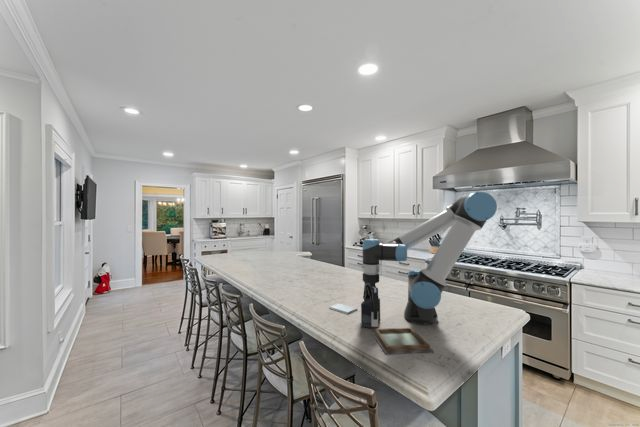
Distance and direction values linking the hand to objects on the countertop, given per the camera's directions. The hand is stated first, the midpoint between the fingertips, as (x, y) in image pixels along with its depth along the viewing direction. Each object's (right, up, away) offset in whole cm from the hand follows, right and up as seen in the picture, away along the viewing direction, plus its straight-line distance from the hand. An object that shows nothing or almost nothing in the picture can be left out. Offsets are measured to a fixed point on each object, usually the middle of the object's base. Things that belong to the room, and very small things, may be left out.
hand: (370, 320), depth 126 cm
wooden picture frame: (+8, -2, -17) cm, 19 cm away
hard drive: (-11, -2, +19) cm, 22 cm away
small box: (0, -2, 0) cm, 2 cm away
